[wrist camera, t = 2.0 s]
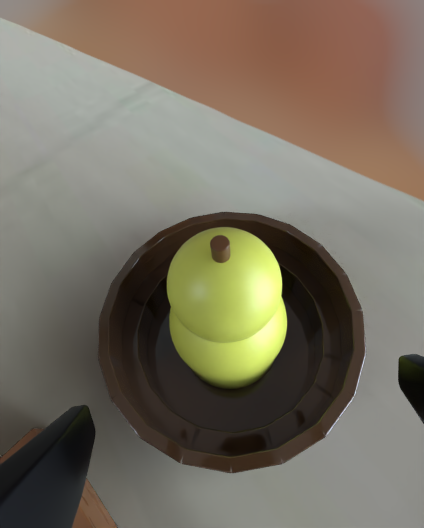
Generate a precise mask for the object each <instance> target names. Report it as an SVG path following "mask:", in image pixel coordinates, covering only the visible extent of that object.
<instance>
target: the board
mask: <svg viewBox="0 0 424 528" xmlns="http://www.w3.org/2000/svg"><path fill="white" fill-rule="evenodd" d="M43 430H44V429H38V428H33V429H32V430H30V431H29V432H28V433H27V434H26V435H25V436H24V437H23V438H22V439H21V440H20V441H18V442H17V443H16V444H15V445H14V446H13V447H12V448H11V449H10V450H9V451H8V452H6V453H5V454H4V455H3V456H2V457H1V458H0V464H1V463H3V462H4V461H5V460H6V459H8V458H9V457H10V456H11V455H13V454H14V453H15V452H16V451H18V450H19V449H20V448H21V447H23V446H24V445H25V444H26V443H28V442H29V441H30V440H31V439H33V438H34V437H35V436H36V435H38V434H39V433H40V432H41V431H43ZM72 528H118V527H117V526H116V524H115V523H114V521H113V519H112V518H111V516H110V515H109V513H108V511H107V510H106V508H105V507H104V505H103V503H102V502H101V500H100V499H99V497H98V496H97V494H96V492H95V491H94V489H93V488H92V486H91V484H90V483H89V481H88V480H87V478H86V481H85V485H84V489H83V493H82V497H81V500H80V504H79V507H78V510H77V513H76V516H75V519H74V523H73V526H72Z"/></svg>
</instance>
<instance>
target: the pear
mask: <svg viewBox="0 0 424 528" xmlns="http://www.w3.org/2000/svg"><path fill="white" fill-rule="evenodd" d="M167 294H168V299H169V302H170V305H171V309H170V316H169V327H170V334H171V337H172V341H173V343H174V346H175V348H176V350H177V352H178V354H179V355H180V357H181V358H182V359H183V360H184V362H185V363H186V364H187V365H188V366H189V367H190V368H191V369H192V371H193V372H194V373H195V374H196V375H197V376H198V377H199V378H200V379H202V380H203V381H205V382H206V383H208V384H210V385H212V386H215V387H219V388H224V389H237V388H242V387H246V386H248V385H251V384H253V383H254V382H256V381H258V380H259V379H260V378H262V377H263V376H264V375H265V374H266V373H267V371H268V370H269V369H270V367H271V366H272V364H273V362H274V360H275V358H276V357H277V355H278V354H279V352H280V350H281V348H282V346H283V343H284V340H285V336H286V331H287V314H286V309H285V305H284V302H283V299H282V297H281V294H282V277H281V272H280V268H279V265H278V262H277V260H276V258H275V257H274V255H273V253H272V252H271V250H270V249H269V248H268V247H267V246H266V245H265V244H264V243H263V242H262V241H261V240H260V239H259V238H257V237H256V236H254V235H252V234H250V233H248V232H246V231H243V230H240V229H236V228H230V227H219V228H212V229H208V230H205V231H203V232H200V233H198V234H196V235H195V236H193V237H192V238H190V239H189V240H188V241H186V242H185V243H184V244H183V245H182V246H181V248H180V249H179V250H178V251H177V253H176V254H175V256H174V258H173V260H172V262H171V264H170V268H169V271H168V276H167Z"/></svg>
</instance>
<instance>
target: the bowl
mask: <svg viewBox="0 0 424 528" xmlns="http://www.w3.org/2000/svg"><path fill="white" fill-rule="evenodd" d="M219 227H230V228H236V229H240V230H243V231H246V232H248V233H250V234H252V235H254V236H256V237H257V238H259V239H260V240H261V241H262V242H263V243H264V244H265V245H266V246H267V247H268V248H269V249H270V250H271V252H272V253H273V255H274V257H275V258H276V260H277V262H278V265H279V268H280V272H281V277H282V294H281V297H282V299H283V302H284V305H285V309H286V314H287V331H286V336H285V340H284V343H283V346H282V348H281V350H280V352H279V354H278V355H277V357H276V358H275V360H274V362H273V364H272V366H271V367H270V369H269V370H268V371H267V373H266V374H265V375H264V376H263V377H262V378H260V379H259V380H258V381H256V382H254V383H253V384H251V385H248V386H246V387H242V388H237V389H224V388H219V387H215V386H212V385H210V384H208V383H206V382H205V381H203V380H202V379H200V378H199V377H198V376H197V375H196V374H195V373H194V372H193V371H192V369H191V368H190V367H189V366H188V365H187V364H186V363H185V362H184V360H183V359H182V358H181V357H180V355H179V354H178V352H177V350H176V348H175V346H174V343H173V341H172V337H171V334H170V327H169V316H170V309H171V305H170V302H169V299H168V294H167V276H168V271H169V268H170V264H171V262H172V260H173V258H174V256H175V254H176V253H177V251H178V250H179V249H180V248H181V246H182V245H183V244H184V243H185V242H186V241H188V240H189V239H190V238H192V237H193V236H195V235H196V234H198V233H200V232H203V231H205V230H208V229H212V228H219ZM365 356H366V344H365V332H364V321H363V311H362V308H361V306H360V304H359V301H358V299H357V297H356V295H355V292H354V290H353V288H352V285H351V283H350V281H349V279H348V276H347V274H346V273H345V272H344V270H343V269H342V268H341V267H340V266H339V265H338V263H337V262H336V261H335V260H334V259H333V258H332V257H331V255H330V254H329V253H328V252H327V251H326V250H325V248H324V247H323V246H321V244H319V243H318V242H316V241H315V240H313V239H312V238H310V237H309V236H307V235H306V234H304V233H303V232H301V231H299V230H298V229H296V228H295V227H293V226H291V225H289V224H286V223H283V222H280V221H277V220H274V219H271V218H268V217H265V216H262V215H259V214H249V213H234V212H220V213H214V214H209V215H203V216H198V217H192V218H189V219H187V220H185V221H182V222H180V223H178V224H176V225H173V226H171V227H169V228H167V229H165V230H162V231H160V232H159V233H157V234H156V235H155V236H154V237H152V238H151V239H150V240H149V241H147V242H146V243H145V244H144V245H143V246H141V247H140V248H139V249H138V250H136V251H135V252H134V253H133V254H132V255H131V257H130V258H129V259H128V261H127V262H126V264H125V265H124V266H123V268H122V269H121V270H120V272H119V273H118V275H117V276H116V277H115V279H114V280H113V282H112V283H111V286H110V289H109V292H108V295H107V297H106V300H105V303H104V306H103V309H102V312H101V315H100V319H99V343H98V358H99V363H100V366H101V370H102V373H103V376H104V379H105V383H106V386H107V389H108V392H109V396H110V399H111V401H112V402H113V404H114V405H115V406H116V408H117V409H118V410H119V412H120V413H121V414H122V416H123V417H124V418H125V419H126V421H127V422H128V423H129V425H130V426H131V427H132V429H133V430H134V431H135V433H136V434H137V435H138V436H139V437H140V438H141V439H142V440H144V441H146V442H147V443H149V444H150V445H152V446H154V447H155V448H157V449H158V450H160V451H161V452H163V453H165V454H166V455H168V456H169V457H171V458H173V459H174V460H176V461H177V462H179V463H182V464H185V465H190V466H195V467H201V468H206V469H211V470H216V471H221V472H226V473H231V472H232V473H237V472H243V471H248V470H253V469H259V468H264V467H269V466H275V465H280V464H283V463H285V462H287V461H288V460H290V459H292V458H293V457H295V456H296V455H298V454H299V453H301V452H303V451H304V450H306V449H307V448H309V447H310V446H312V445H314V444H315V443H317V442H318V441H320V440H321V439H323V438H325V437H326V435H328V433H329V432H330V430H331V429H332V428H333V426H334V425H335V424H336V422H337V421H338V419H339V418H340V417H341V415H342V414H343V412H344V411H345V410H346V408H347V407H348V406H349V404H350V403H351V401H352V400H353V399H354V396H355V394H356V390H357V386H358V383H359V379H360V375H361V371H362V368H363V364H364V360H365Z"/></svg>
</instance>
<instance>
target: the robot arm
mask: <svg viewBox="0 0 424 528" xmlns="http://www.w3.org/2000/svg"><path fill="white" fill-rule="evenodd" d="M398 381H399V385H400V388H401V390H402V392H403V393H404V395H405V396H406V398H407V399H408V401H409V402H410V404H411V405H412V407H413V408H414V410H415V411H416V413H417V414H418V416H419V417H420V419H421V420H422V422H423V423H424V357H423V356H420V355H417V354H410V355H404V356H401V357H400V358H399V371H398ZM94 440H95V426H94V423H93V420H92V417H91V413H90V410H89V408H88V406H86V405H81V406H75V407H72V408H70V409H69V410H68V411H66V412H65V413H64V414H63V415H61V416H60V417H59V418H58V419H56V420H55V421H54V422H53V423H51V424H50V425H49V426H48V427H46V428H45V429H44V430H43V431H41V432H40V433H39V434H38V435H36V436H35V437H34V438H33V439H31V440H30V441H29V442H28V443H26V444H25V445H24V446H23V447H21V448H20V449H19V450H18V451H16V452H15V453H14V454H13V455H11V456H10V457H9V458H8V459H6V460H5V461H4V462H3V463H1V464H0V528H72V526H73V523H74V519H75V516H76V513H77V510H78V507H79V504H80V500H81V497H82V493H83V489H84V485H85V481H86V476H87V472H88V467H89V463H90V458H91V453H92V449H93V444H94Z"/></svg>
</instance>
